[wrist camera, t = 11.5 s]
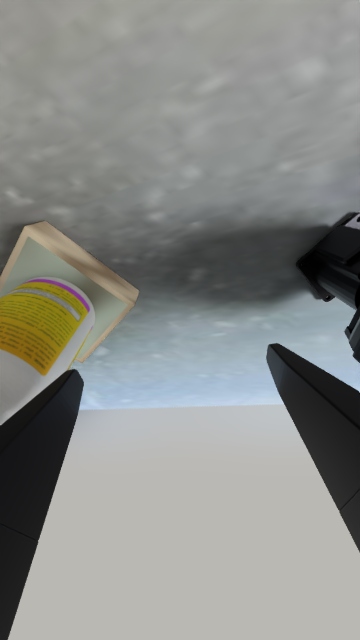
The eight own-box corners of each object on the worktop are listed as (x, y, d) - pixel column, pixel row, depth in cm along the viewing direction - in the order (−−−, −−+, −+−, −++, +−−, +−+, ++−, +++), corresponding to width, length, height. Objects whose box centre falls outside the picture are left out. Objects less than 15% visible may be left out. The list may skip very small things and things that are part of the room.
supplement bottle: (11, 268, 17) (-282, 414, 6) (95, 279, 17) (-28, 427, 7) (30, 333, 20) (-132, 498, 9) (98, 340, 21) (22, 500, 10)
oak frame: (139, 290, 22) (135, 304, 19) (91, 345, 25) (81, 363, 23) (45, 220, 18) (23, 226, 15) (4, 298, 21) (-18, 313, 19)
